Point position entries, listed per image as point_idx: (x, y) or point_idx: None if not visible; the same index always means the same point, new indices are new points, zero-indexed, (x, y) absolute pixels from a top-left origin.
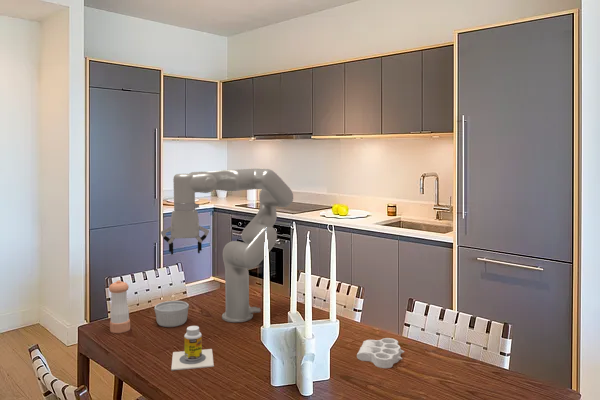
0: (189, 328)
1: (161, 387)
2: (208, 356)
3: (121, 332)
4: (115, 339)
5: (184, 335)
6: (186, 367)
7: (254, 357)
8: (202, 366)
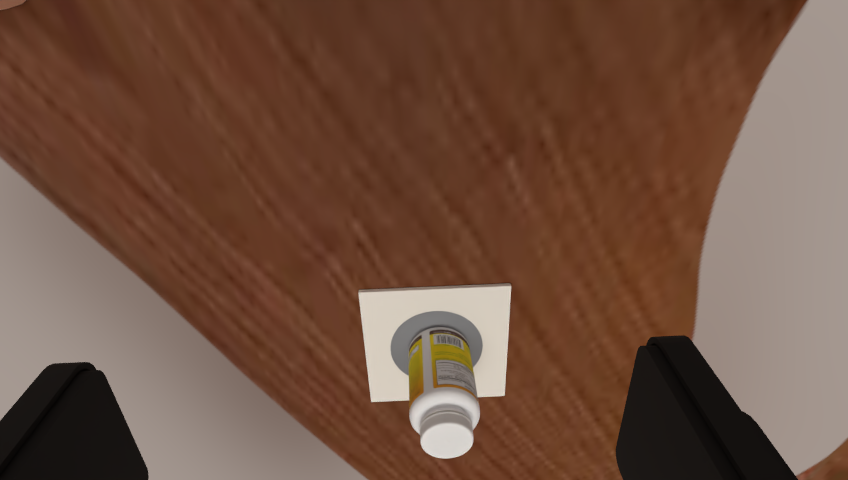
0: (432, 444)
1: (357, 468)
2: (492, 340)
3: (15, 5)
4: (36, 104)
5: (410, 420)
6: None
7: None
8: None
